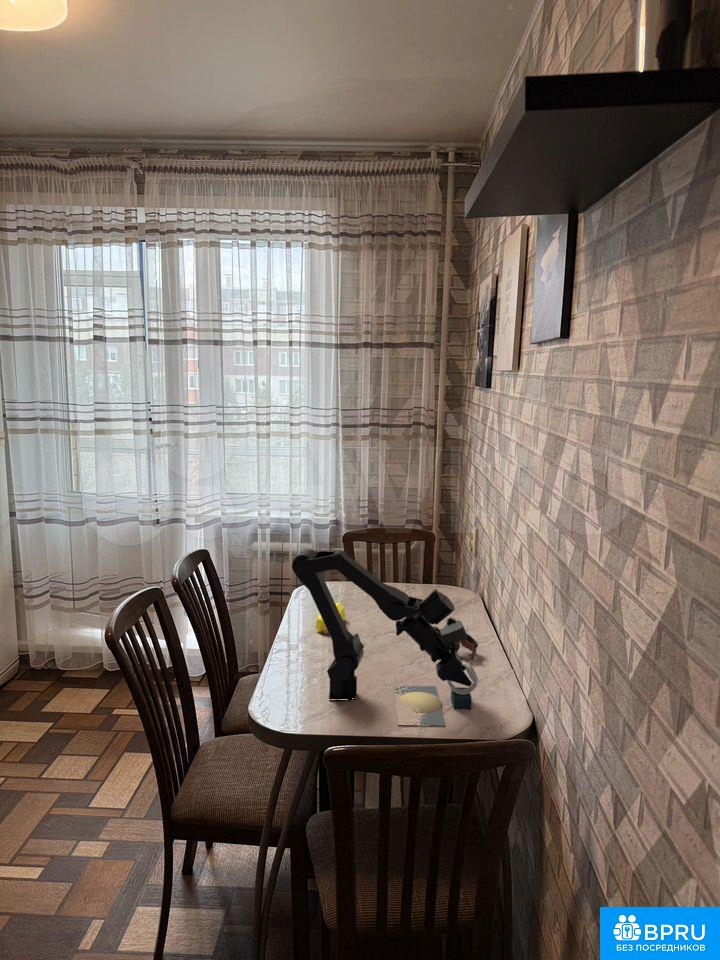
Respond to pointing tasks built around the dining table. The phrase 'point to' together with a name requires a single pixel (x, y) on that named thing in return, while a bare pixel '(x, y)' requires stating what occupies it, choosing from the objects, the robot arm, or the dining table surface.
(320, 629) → the yellow faceted lump
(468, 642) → the brown curved piece
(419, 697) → the mat
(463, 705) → the watch
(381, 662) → the dining table surface
